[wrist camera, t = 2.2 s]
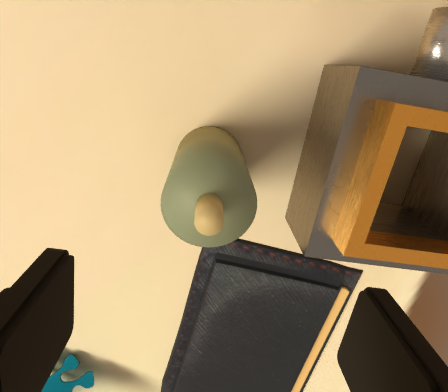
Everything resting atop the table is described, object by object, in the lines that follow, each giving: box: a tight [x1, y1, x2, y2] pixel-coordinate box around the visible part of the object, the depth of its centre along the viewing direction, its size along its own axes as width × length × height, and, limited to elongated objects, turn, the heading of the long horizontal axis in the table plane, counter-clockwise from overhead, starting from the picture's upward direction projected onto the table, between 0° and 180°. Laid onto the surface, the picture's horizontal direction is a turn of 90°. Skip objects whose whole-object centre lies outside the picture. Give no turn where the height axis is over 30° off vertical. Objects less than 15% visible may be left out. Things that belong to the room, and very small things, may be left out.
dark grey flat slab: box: [161, 239, 363, 392], centre depth 32 cm, size 20×2×15 cm
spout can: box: [161, 127, 257, 247], centre depth 21 cm, size 5×5×11 cm
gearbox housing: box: [285, 7, 448, 274], centre depth 22 cm, size 16×12×8 cm
